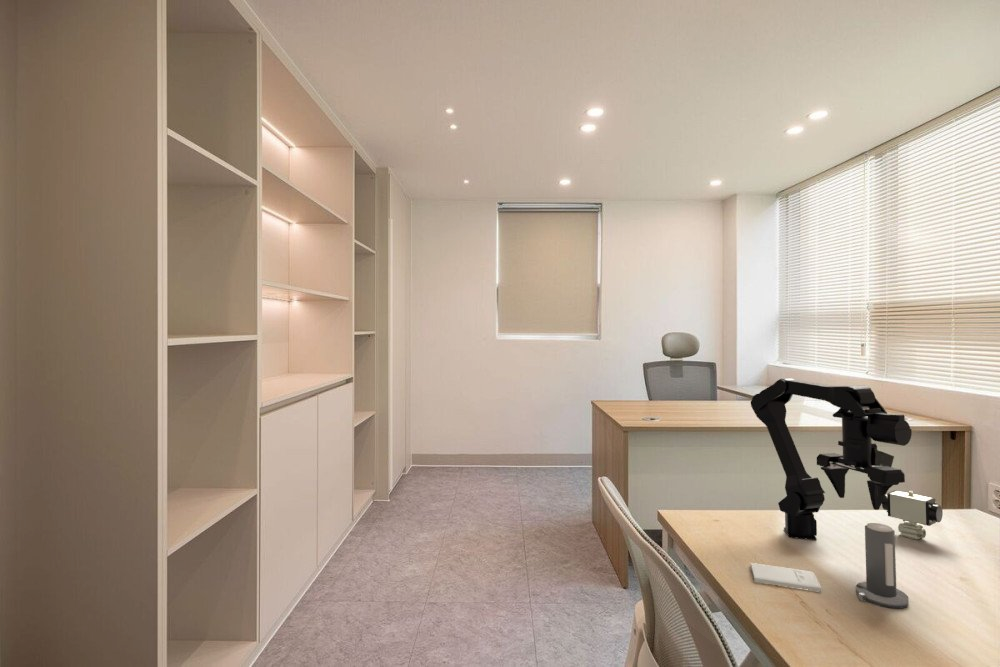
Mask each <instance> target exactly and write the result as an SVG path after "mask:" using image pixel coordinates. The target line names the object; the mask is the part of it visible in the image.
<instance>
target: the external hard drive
mask: <svg viewBox="0 0 1000 667" xmlns="http://www.w3.org/2000/svg"><path fill="white" fill-rule="evenodd" d="M750 569H751V574H752V578H754V579H753V583H755V582H757V583H756V584H761V583H767V584H766V585H768V584H774V585H773V586H775V585H780V586H779V587H781V586H787V587H786V588H788V587H794V588H802V589H808V590H812V591H811V592H814V591H818V592H817V593H821V592H822V590H823V589H822V586H821V584H820V582H819V580H818V578H817V576H816V574H815V573H814V571H811V570H803V569H797V568H789V567H783V566H776V565H769V564H763V563H756V562H750ZM794 588H793V589H794ZM808 590H807V591H808Z"/></svg>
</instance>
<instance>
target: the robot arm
mask: <svg viewBox="0 0 1000 667" xmlns="http://www.w3.org/2000/svg"><path fill="white" fill-rule="evenodd" d="M793 395H794V396H798V397H805V398H809V399H810V398H811V399H815V400H822V401H825V402H828V403H830V404H831V405H832V406H833V407H834V406H835V407H837V408H839V409H838V410H837V411H836V412H834V413H832V417H833V418H839V419H841V430H842V431H841V436H842V437H841V438H842V440H838V441H837V445H838V446H842V454H838V453H834V452H832V453H830V452H829V453H818V455H817V456H816V466H820V470H822V471H823V472H824V474H825V475H826V476H827V478H828V480H829V481H830V483H831V485H832V487H833V489H834V490H835V492H836V494H837V496H838V498H840V499H844V498H845V493H846V475H847V473H849V471H850V470H851V471H854V472H860V473H864V474H866V475H867V477H868V478H869V479H868V480H866V484H867V487H868V492H869V497H870V502H871V505H872V508H873V510H875V511H879V510H880V508H881V507H882V501H883V499H884V497H885V495H886V494H887V493H888V491H889V489H890V488H892V487H893V486H898V485H899V484H900V483H906V482H905V481H906V478H905V477H906V475H905V473H904V471H903V470H902V469H901V468H895V467H893V462H894V460H895V459H894V458H895V456H894V455H892V454H890V453H887V452H884V451H881V450H878V445H877V443H874V442H878V443H883V444H884V443H885V444H892V445H897V446H906V445H908V444H909V443H910V441H911V439H912V431H913V430H912V428H911V426H910V424H909V423H908V421H907V420H906V419H905V415H904V414H900V413H896V414H893V413H888V412H887V411H886V409H885V408H884V407H883V406H882V404H881V403H880V402H879V400H878V399H877V398H876V395H875V392H874V391H873V390H872V388H870V387H869V386H867V385H829V384H825V383H824V384H823V383H817V382H811V381H804V380H798V379H794V378H793V377H791V378H780V379H778V380H776V381H775V382H774V383H773V384H772V385H770V386H767V387H766V388H764V389H762V390H761V391H760V392H759V393H756V394H754V395H753V396H752V399H751V401H750V405H751V406H750V407H751V409H752V410H753V413H754V414H755V416H756V418H758V420H759V421H760V422H762V423H763V424H764V425H765V426H766V428H767V431H768V433H769V436H770V438H771V441H772V444H773V446H774V448H775V451H776V453H777V456H778V459H779V462H780V464H781V467H782V468H783V472H784V474H785V485H784V490H785V493H786V496H785V497H784V498H783V499H781V500H780V501H779V502H778V503H777V504H778V507H779V510H780V512H782V513H784V524H785V526H784V527H783V530H784V532H785V534H786V535H787V537H788V538H793V539H800V540H801V539H802V540H811V541H817V536H818V535H817V534H818V528H817V527H818V526H817V524H818V523H817V520H816V518H815V514H814V513H819V512H820V508H821V507H822V506H823V505H824V501H825V495H824V494H826V491H825V490H824V489H823V487H822V485H821V481H820V480H819V478H818V477H816V476H815V477H812V476H811V475H809V473H808V472H807V470H806V469H805V466H804V464H803V461H802V458H801V456H800V454H799V451H798V449H797V446H796V444H795V442H794V440H793V436H792V435H791V432H790V429H789V427H788V425H787V422H786V417H787V408H786V404H788V403H789V402H790V401H791V400H792V397H793ZM872 441H874V442H872Z"/></svg>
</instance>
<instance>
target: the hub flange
mask: <svg viewBox="0 0 1000 667" xmlns="http://www.w3.org/2000/svg"><path fill="white" fill-rule="evenodd" d="M855 592H856V595H857V598H858V600H859V601H861V602H868V603H870V604H873V605H876V606H879V607H882V608H887V609H895V610H896V609H897V610H899V609H907V608H908V607H909V605H910V603H909V599H910V598H909V596H908V595H907V594H906V592H904V591H902V590H900V589H898V588H896V593H897V596H896V597H882V596H879V595H876V594H873V593H871V592H869V591H868V590H867V586H866V581H860V582H858V583H856V585H855Z"/></svg>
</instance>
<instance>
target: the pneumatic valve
mask: <svg viewBox="0 0 1000 667" xmlns="http://www.w3.org/2000/svg"><path fill="white" fill-rule="evenodd" d="M936 501H937V500H936V498H934V497H930V496H929V497H928V496H923V495H920V494H914V492H913V491H912V490H909V491H908V492H904V491H899V490H892V491H890V492H887V493H886V495H885V497H884V499H883V501H882V504H881V507H882V509H883V510H884V511H886V513H887V516H888V517H891V518H895V519H899V520H902V522H900V523H899V524H898V528H897V530H898V532H899V533H900V535H901V536H902V537H904V538H907V537H908V539H911V540H915V541H918V540H920V539H926V535H927V531H926V529H925V528H924V526H928V527H930V526H933V525H934V524H936V523H941V521H942V519H943V516H944V515H943V507H942V505H940V504H938V503H937V502H936Z"/></svg>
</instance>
